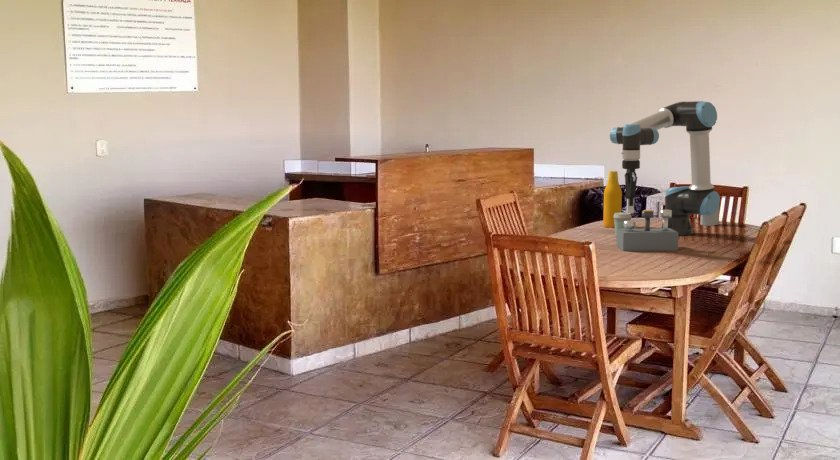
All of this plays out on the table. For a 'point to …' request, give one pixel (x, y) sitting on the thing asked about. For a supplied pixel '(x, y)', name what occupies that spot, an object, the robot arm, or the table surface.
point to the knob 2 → (665, 218)
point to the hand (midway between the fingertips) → (630, 212)
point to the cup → (710, 219)
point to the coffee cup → (621, 220)
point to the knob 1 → (629, 225)
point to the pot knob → (647, 218)
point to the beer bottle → (612, 199)
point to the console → (647, 240)
